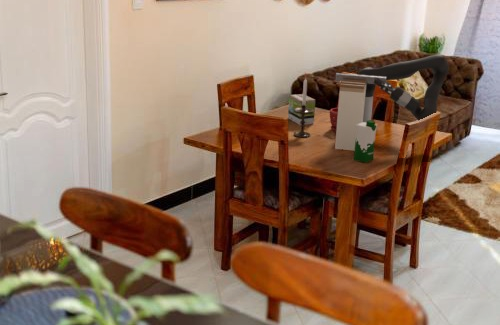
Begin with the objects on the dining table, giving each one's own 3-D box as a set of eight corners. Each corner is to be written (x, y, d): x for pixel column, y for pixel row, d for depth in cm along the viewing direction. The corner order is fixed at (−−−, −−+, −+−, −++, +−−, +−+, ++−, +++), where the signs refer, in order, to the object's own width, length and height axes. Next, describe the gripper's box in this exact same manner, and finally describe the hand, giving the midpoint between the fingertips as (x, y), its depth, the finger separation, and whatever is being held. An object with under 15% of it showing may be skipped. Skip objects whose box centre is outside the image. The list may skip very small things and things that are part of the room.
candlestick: (301, 139, 365) (305, 74, 353) (287, 134, 373) (291, 71, 361) (315, 136, 371) (320, 72, 360) (302, 131, 379) (306, 69, 368)
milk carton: (366, 163, 329) (370, 124, 323) (350, 159, 335) (354, 120, 328) (375, 159, 336) (379, 120, 329) (359, 155, 341) (363, 117, 335)
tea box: (287, 118, 404) (288, 94, 400) (302, 117, 408) (303, 93, 404) (299, 125, 391) (300, 100, 387) (314, 124, 396) (316, 99, 391)
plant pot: (351, 128, 390) (353, 107, 386) (352, 134, 378) (354, 113, 374) (328, 126, 391) (330, 106, 387) (328, 132, 379) (330, 112, 375)
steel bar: (385, 83, 355) (386, 76, 354) (385, 84, 352) (386, 78, 351) (336, 79, 360) (336, 72, 359) (335, 80, 357) (335, 74, 356)
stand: (361, 138, 371) (367, 77, 360) (358, 151, 349) (364, 86, 338) (339, 136, 373) (344, 75, 362) (334, 148, 351) (340, 84, 340)
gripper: (405, 88, 359) (379, 70, 359) (405, 93, 346) (378, 75, 346) (396, 99, 362) (371, 82, 362) (396, 105, 349) (370, 87, 349)
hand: (375, 79), depth 354 cm, fingers open, 8 cm apart
